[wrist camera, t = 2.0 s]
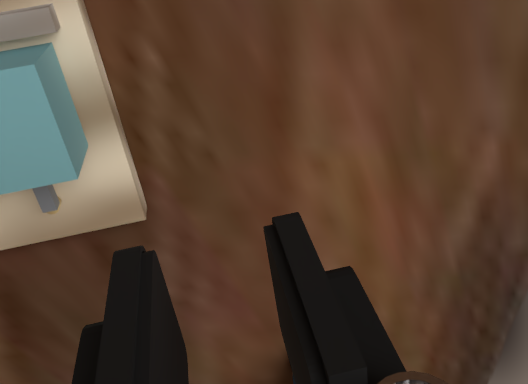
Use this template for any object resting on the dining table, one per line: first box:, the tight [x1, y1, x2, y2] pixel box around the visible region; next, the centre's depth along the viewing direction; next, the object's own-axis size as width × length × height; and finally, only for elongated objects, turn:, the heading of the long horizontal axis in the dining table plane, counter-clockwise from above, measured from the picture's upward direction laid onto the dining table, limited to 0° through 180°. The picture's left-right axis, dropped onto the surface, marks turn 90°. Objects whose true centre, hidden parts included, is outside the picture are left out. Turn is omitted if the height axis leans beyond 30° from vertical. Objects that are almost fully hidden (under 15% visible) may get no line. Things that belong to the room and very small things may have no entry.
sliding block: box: [0, 42, 88, 214], centre depth 22 cm, size 8×5×4 cm, turn 8°
